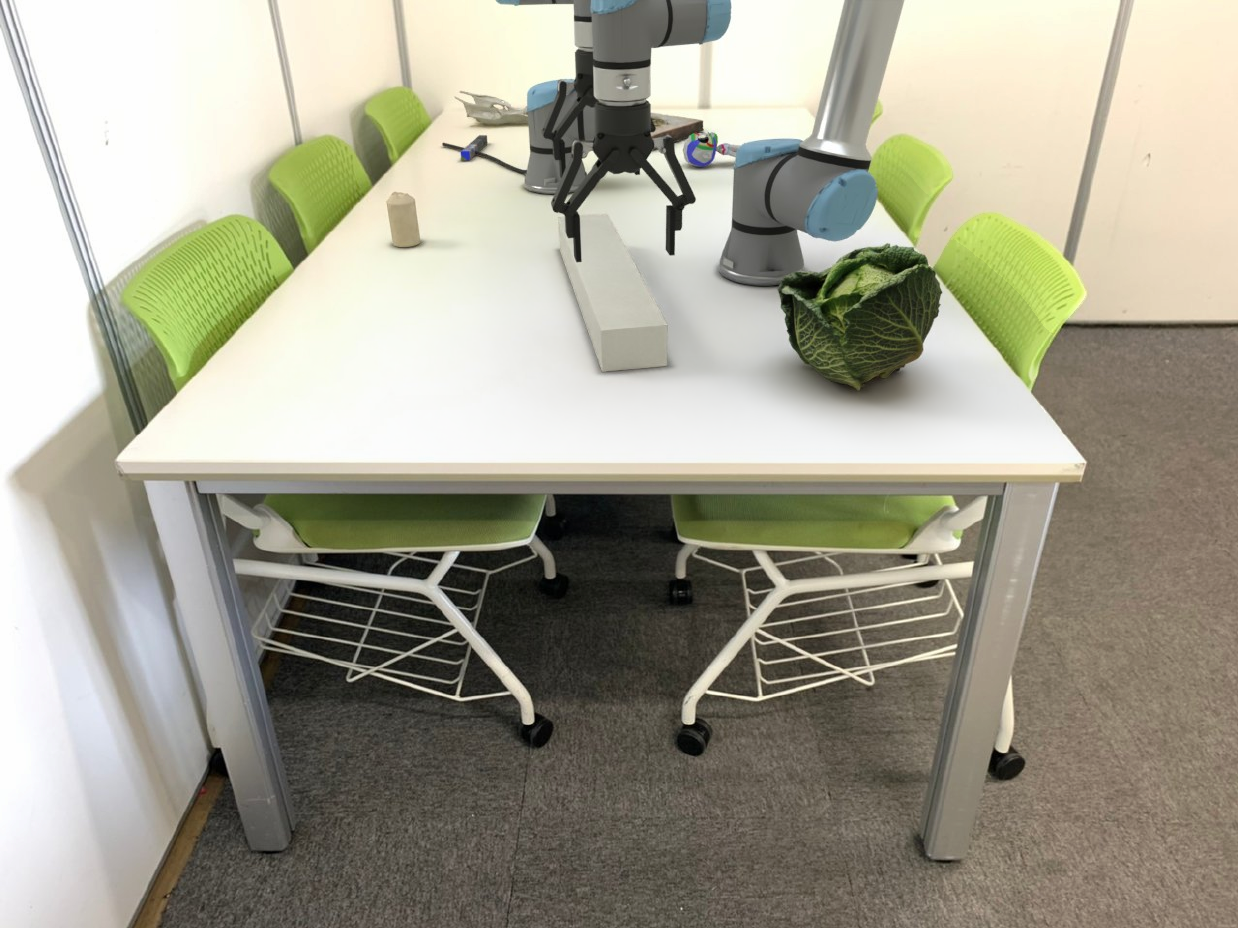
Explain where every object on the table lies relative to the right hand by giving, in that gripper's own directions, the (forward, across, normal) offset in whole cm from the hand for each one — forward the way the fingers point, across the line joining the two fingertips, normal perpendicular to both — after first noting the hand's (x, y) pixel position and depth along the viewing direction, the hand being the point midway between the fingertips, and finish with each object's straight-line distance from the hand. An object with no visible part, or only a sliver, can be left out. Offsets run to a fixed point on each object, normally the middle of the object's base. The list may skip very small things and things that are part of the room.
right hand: (624, 256), depth 130 cm
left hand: (-1, +3, +40) cm, 40 cm away
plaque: (+14, +28, +141) cm, 144 cm away
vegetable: (+14, +30, -16) cm, 37 cm away
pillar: (+14, -18, +132) cm, 134 cm away
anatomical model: (+14, -10, +168) cm, 169 cm away
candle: (+14, -35, +57) cm, 68 cm away
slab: (+14, 0, +20) cm, 24 cm away
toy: (+14, +48, +103) cm, 114 cm away
